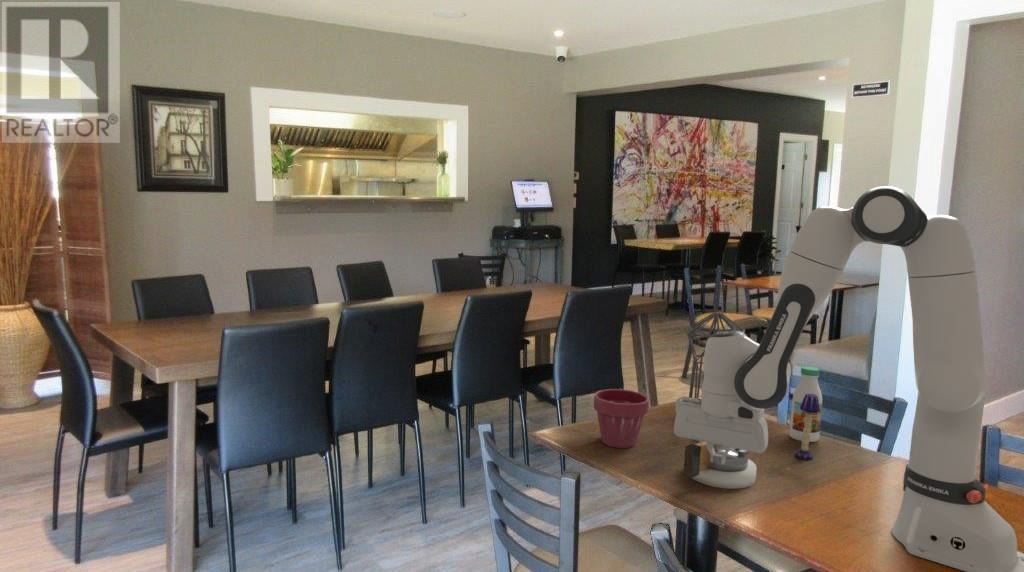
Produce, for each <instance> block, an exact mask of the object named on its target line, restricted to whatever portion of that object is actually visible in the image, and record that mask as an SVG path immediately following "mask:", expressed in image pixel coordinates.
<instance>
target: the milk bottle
mask: <svg viewBox="0 0 1024 572" xmlns="http://www.w3.org/2000/svg"><path fill="white" fill-rule="evenodd" d="M800 368H801V369H800V377H801V378H800V379H799V383H798V384H797V385H796V388H795V389H794V391H793V395H792V400H791V401H792V402H791V411H790V422H789V437H790V438H792V439H794V440H796V441H799V442H802V439H803V437H802V436H803V433H804V432H803V429H804V422H805V416H806V414H805V411H803V410H801V409H800V406H801V403H802V401H803V398H804V396H805V395H806V394H814V395H817V396H818V401H819V408H820V411H819V412H818V413H813V415H812V422H811V428H810V429H811V432H810V438H809V443H815V442H818V441H819V440H820V434H821V433H820V432H821V423H822V411H823V395H822V391H821V388H820V385H819V381H818V378H819V374H820V369H819V368H817V367H814V366H802V367H800Z"/></svg>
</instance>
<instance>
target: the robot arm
mask: <svg viewBox="0 0 1024 572" xmlns="http://www.w3.org/2000/svg"><path fill="white" fill-rule="evenodd" d="M969 236H970V235H969V233H968V231H967V228H966V226H965V224H964V222H963V221H961V220H960V219H959V218H957V217H955V216H952V215H945V214H935V215H928V214H926V213H925V212H924V211H923V209H922V208H921V207H920V206H919V204H918V203H917V202H916V201H915V200H914V199H913V197H912V196H911V195H910V194H909V193H908V192H906V191H905V190H903V189H901V188H898V187H897V186H889V185H882V186H881V185H880V186H877V187H872V188H871V189H868V190H867V191H866V192H864V193H862V194H861V195H860V196H859V198H858V199H857V200H856V201H855V203H854V206H852V207H850V208H841V207H836V206H831V205H829V206H828V205H827V206H826V205H825V206H819V207H817V208H815V209H813V210H812V211H811V212H810V213H809V214H808V216H807V217H806V219H805V220H804V222H803V223H802V225H801V226H800V228H799V230H798V231H797V233H796V235H795V237H794V239H793V241H792V242H791V243H792V244H791V245H790V248H789V250H788V252H787V254H786V257H785V261H784V263H783V267H782V270H781V274H780V278H779V285H778V291H777V297H776V301H775V307H774V311H773V313H772V316H771V318H770V321H769V323H768V325H767V327H766V329H765V332H764V333H763V336H762V339H761V340H760V343H759V342H756V341H755V340H753V339H752V338H750V337H748V335H746V334H745V332H744V333H743V332H741V331H736V330H727V331H724V330H720V331H721V332H717V333H714V332H713V334H710V337H709V338H708V340H707V339H706V340H707V341H706V343H705V344H706V347H705V346H704V347H705V349H704V350H705V353H704V356H703V362H704V363H703V364H702V369H703V374H704V379H703V382H702V386H701V395H700V397H701V398H698V399H697V397H696V398H694V397H692V398H689V396H683V395H682V397H679V398H677V399H675V403H674V405H675V407H674V411H675V413H676V415H675V418H674V422H673V423H674V424H673V433H674V435H675V436H676V437H679V438H684V439H687V440H688V439H689V440H693V441H697V442H698V441H702V442H706V447H707V449H708V451H709V453H710V455H711V459H710V461H711V462H713V463H718V464H722V465H724V464H725V461H726V455H727V454H728V453H729V451H730V450H731V449H732V448H737V449H741V450H746V451H748V452H751V453H752V452H753V453H757V454H763V453H764V452H765V451H766V450H767V448H768V445H769V428H768V422H767V420H766V417H764V416H763V415H764V413H765V409H770V408H773V407H776V406H778V404H780V403H781V402H782V401H783V400H784V398H785V396H786V394H787V389H788V384H789V382H790V380H791V376H792V366H791V362H790V360H791V357H792V356H793V353H794V350H795V348H796V346H797V344H798V342H799V339H800V337H801V334H802V333H803V330H804V329H805V327H806V325H807V324H808V322H809V321H810V319H811V318H812V316H813V315H814V314H815V312H816V311H818V309H819V308H820V307H821V306H822V304H824V302H825V301H826V299H828V297H829V296H830V294H831V293H832V292H833V290H834V288H835V287H836V286H837V283H838V282H839V280H840V278H841V276H842V274H843V272H844V270H845V268H846V265H847V263H848V260H849V258H850V257H851V255H852V253H853V251H854V250H855V248H857V247H858V246H859V245H860V244H862V243H866V242H868V243H869V242H870V243H873V244H879V245H889V246H895V247H900V248H901V250H902V252H903V253H904V257H905V262H906V268H907V269H906V270H907V280H908V289H909V297H910V298H909V299H910V308H911V317H912V318H911V319H912V344H913V345H912V347H913V363H914V377H915V385H916V389H917V393H918V394H917V399H916V405H915V412H914V418H913V423H912V432H911V439H910V447H909V448H910V449H909V457H908V463H906V465H905V470H904V474H903V481H902V483H903V485H902V486H903V488H902V489H903V496H902V497H903V498H902V501H901V505H900V508H899V511H898V514H897V516H896V519H895V522H894V524H893V526H892V528H891V534H892V535H893V537H894V538H895V539H896V540H897V541H898V542H900V543H901V544H902V545H903V546H904V548H905V550H906V551H907V552H908V553H909V554H911V555H913V556H914V557H915V556H916V557H919V558H922V559H925V560H928V561H931V562H935V563H938V564H940V565H944V566H948V567H951V568H954V569H957V570H960V571H964V572H1024V553H1023V552H1021V551H1018V542H1017V541H1018V539H1017V534H1016V531H1015V530H1014V528H1013V527H1012V526H1011V524H1009V523H1008V522H1007V521H1006V520H1005V519H1004V518H1003V517H1002V516H1001V515H1000V514H999V513H998V512H997V511H996V510H995V509H994V508H993V507H992V506H991V505H990V504H988V503H987V501H985V499H986V496H987V495H986V494H987V493H986V492H988V488H989V484H988V483H986V484H985V485H983V484H982V483H981V482H980V481H979V480H978V478H977V477H976V473H977V467H978V466H977V465H978V457H979V447H980V440H981V432H982V423H983V416H984V408H985V401H986V395H987V394H986V392H987V387H988V386H987V385H988V378H989V377H988V376H989V366H988V362H987V360H986V357H985V353H984V342H983V328H982V316H981V314H982V313H981V305H980V296H979V285H978V277H977V268H976V262H975V261H976V260H975V255H974V251H973V247H972V243H971V240H970V237H969ZM715 444H717V445H722V446H723V450H725V452H724V453H723V455H722V454H717V453H716V452H715V450H714V448H713V446H714V445H715Z"/></svg>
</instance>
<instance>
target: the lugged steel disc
mask: <svg viewBox="0 0 1024 572" xmlns="http://www.w3.org/2000/svg"><path fill="white" fill-rule="evenodd" d="M713 448H714V450H715V452H716V453H717V454H722V455H723V453H724V452H725V450H723V446H722V445H717V444H715V445H714V446H713ZM710 459H711V455H710V453H709V451H708V449H707V447H706V442H702V441H698V440H697V443H695V444H694V443H690V444H688V445H686V446H685V447H684V460H683V472H682V473H683V474H682V475H683V476H686V477H687V478H691V479H692V478H693V477H695V476H697V475H699V472H700V471H703V470H705V469H707V468H709V469H713V470H717V471H724V472H737V471H742V470H745V469H746V468H747V467H748V459H749V451H746V450H741V449H737V448H732V449H731V450H730V451H729V453H728V454H727V455H726V461H725V464H724V465H722V464H718V463H713V462H711V461H710Z"/></svg>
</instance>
